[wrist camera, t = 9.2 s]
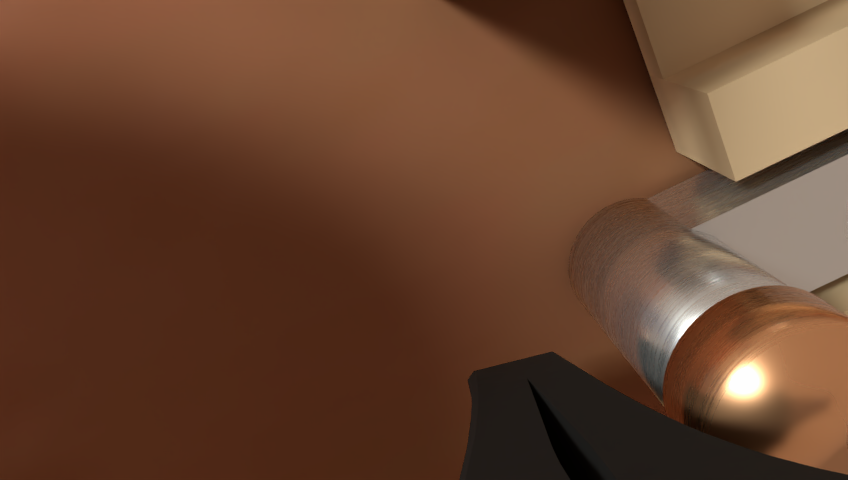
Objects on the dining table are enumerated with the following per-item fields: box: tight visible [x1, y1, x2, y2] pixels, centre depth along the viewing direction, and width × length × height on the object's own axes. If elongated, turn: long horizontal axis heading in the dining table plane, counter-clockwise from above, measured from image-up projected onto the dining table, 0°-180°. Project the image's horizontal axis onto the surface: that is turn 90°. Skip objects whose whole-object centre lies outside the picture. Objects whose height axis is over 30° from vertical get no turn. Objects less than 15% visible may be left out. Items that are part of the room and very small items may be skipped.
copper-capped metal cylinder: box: [569, 129, 848, 475], centre depth 12 cm, size 7×3×6 cm, turn 115°
